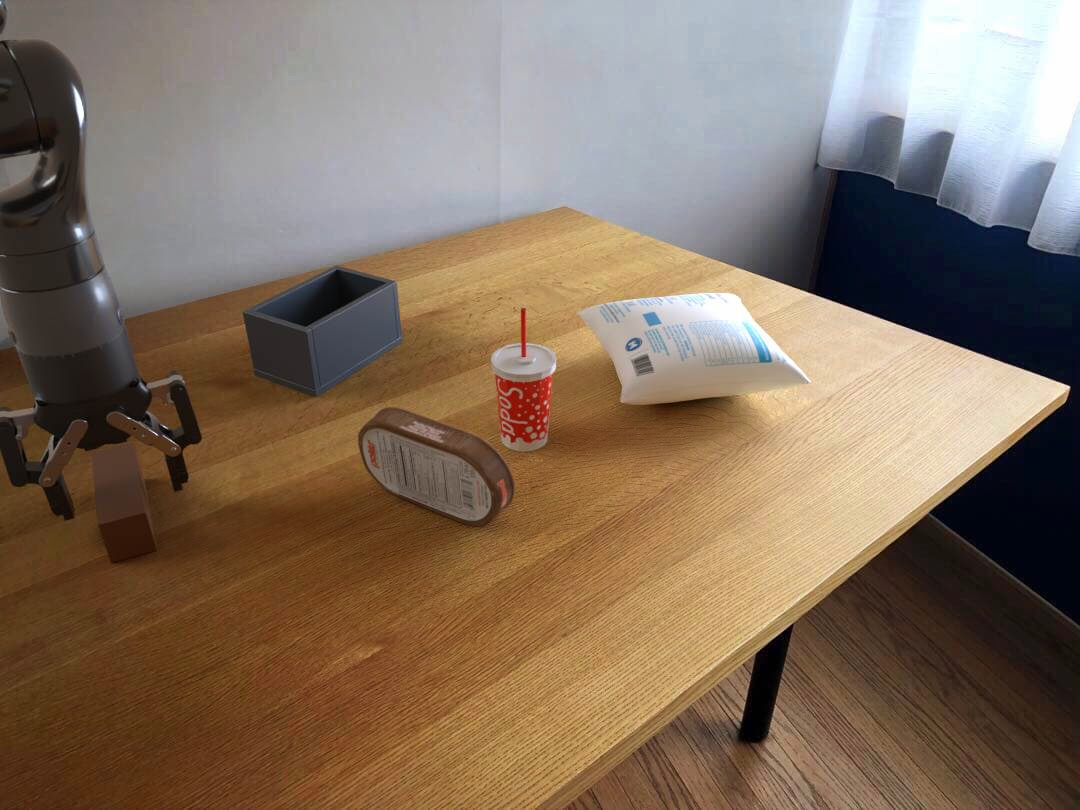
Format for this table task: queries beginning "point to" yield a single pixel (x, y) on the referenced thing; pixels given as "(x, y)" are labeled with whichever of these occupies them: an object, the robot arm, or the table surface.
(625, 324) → the pouch
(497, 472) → the tin
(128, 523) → the brown block
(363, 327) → the bin
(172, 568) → the table surface
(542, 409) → the beverage cup
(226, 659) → the table surface
